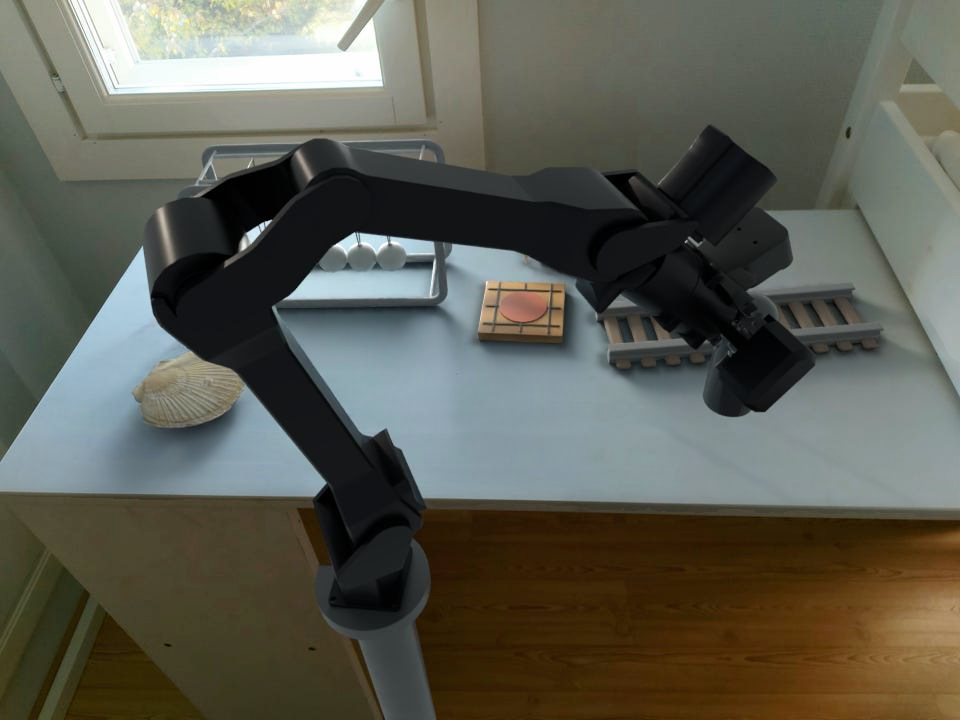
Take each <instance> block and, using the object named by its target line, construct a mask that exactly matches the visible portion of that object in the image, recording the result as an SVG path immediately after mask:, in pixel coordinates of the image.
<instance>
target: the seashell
mask: <svg viewBox="0 0 960 720" xmlns="http://www.w3.org/2000/svg"><path fill="white" fill-rule="evenodd" d="M244 385H245V383H244V382H243V381H242V379H241V378H240V377H239V376H238V375H237V374H236V373H235V372H234V371H233V370H231V369H230V368H226V367H223V366H219V365H216V364H213V363H209V362H206V361H203V360H202V359H200V358H199V357H198V356H197V355H195V354H194V353H193V352H191V351H190V350H189V351H185V352H184V353H182V354H181V355H179V356H177V357H176V358H174V359H163V360H160V361H159V362H157V364H156V365H155V366H154V367H153V369H152V370H151V371H150V372H149V373H148V375H147V376H146V377H145V378H144V379H143V380H142V381H141V382H140V383H139V384H137V385H136V386H135V387H134V389H133V390H132V391H131V394H132V396H133V398H134V400H135V402H136V403H139V404H140V406H139V407H140V408H139V409H140V414H141V416H142V421H143V422H144V423H145V424H147V425H149V426H153V427H157V428H164V429H165V428H167V429H183V428H190V427H195V426H199V425H202V424H205V423H206V422H211V421H213V420H215V419H217V418H219V417H221V416H223V415H224V414H225V413H227V412H229V411H230V410H231V408H232V406H233V405H234V404H235V403H236V401H237V400H238V399H239V398H240V397H241V393H242V392H244V391H245V387H244Z"/></svg>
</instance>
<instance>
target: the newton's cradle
mask: <svg viewBox="0 0 960 720" xmlns="http://www.w3.org/2000/svg"><path fill="white" fill-rule="evenodd" d="M339 142H340V143H341V144H343V145H346V146H348V147H352V148H357V149H363V150H369V151H374V152H380V153H386V154H391V155H412V154H414V155H415V154H416V155H417V154H420V155H419V158H418V159H419V160H424V157H425V156H424V155H425V150H428V151H430V152H431V153H433V155H434V158H435V162H436V163H442V164H446V157H445V154H444V153H445V152H444V150H443V149H442V147H441V145H440V144H438V143H437V142H436V141H433V140H431V139H427V138H426V139H425V138H421V139H419V138H418V139H383V140H382V139H381V140H379V139H378V140H347V141H344V140H343V141H339ZM302 143H303V142H275V143H274V142H272V143H270V142H269V143H268V142H267V143H235V144H233V143H232V144H229V143H228V144H213V145H210V146H208V147H206V148H205V149H204V151H203V152H202V154H201V165H202V167H203V169H202V171H201V172H200V174H199V176H198V178H197V180H196V182H195V183H194V184H193V185H188V186H185V187H183V188H181V189H180V190H179V192H178V193H177V197H176V200H178V199H181V198H188V197H193V196H195V195H196V194H198V193H200V192H201V191H203V190H204V189H206V188H207V187H209V186H210V185H212V184H214V183H215V182H217V181H218V180H220V179H221V178H217V175H216V172H215V168H214V165H213V161H214V160H220V159H221V160H223V159H225V160H226V159H251V160H250V162H249V163H248V166H247V168H250V165H251V164H252V167H254V166H256V164H255V159H260V158H263V159H264V158H265V159H266V158H281V157H282V156H284V155H285V154H287V153H288V152H290V151H291V150H293V149H295V148H296V147H298V146H299V145H301V144H302ZM205 176H206V179H203V178H204V177H205ZM257 227H258V229H259V232H260V233H261V232H262V231H263V230H262V229H261V226H260V225H258V226H257ZM263 227H264V229H265V228H266V227H267V225H266V222H263ZM360 234H361V233H355V238H356V243H354V244H353V245H351V246H350V248H349V249H348V251H346V250H345V248H344V247H343V246H342V245H340V244H339V243H337V244H336V245H334V246H333V247H331V248H330V249H329V250H328V252H327V253H326V254H325V255H324V256H323V258H322V259H321V260H320V261H319V262H318V264H317V265H319V266H320V267H321V268H322V269H323V270H324V271H325V272H328V273H338V272H340V271H341V270H343V269H344V268H345V266H346V265H347V264H349V266H350V267H351V268H352V269H353V270H354V271H356V272H360V273H365V272H368V271H370V270H372V269H373V268H374V267H375V265H376V264H378V265H379V266H380V268H382V269H384V270H385V271H387V272H396V271H399V270H401V269H402V268H403V267H404V266H405V264H406V263H430V262H431V263H433V265H432V267H433V268H432V272H431V282H430V288H429V296H423V297H422V296H411V297H404V296H403V297H402V296H401V297H350V298H349V297H348V298H347V297H344V298H340V297H339V298H338V297H337V298H285V299H283V300H282V301H280V302H278V303H277V304H275V307H276V309H312V308H313V309H314V308H315V309H316V308H317V309H320V308H323V309H324V308H381V307H383V308H384V307H385V308H387V307H433V306H437V305H440V304H442V303H443V302H444V301H445V300H446V299H447V297H448V293H449V288H448V287H449V286H448V277H447V266H446V259H447V258H449V256H450V255H451V253H452V251H453V244H448V243H440V242H433V248H434V252H433V253H432V252H431V253H430V252H429V253H427V252H426V253H425V252H424V253H423V252H421V253H407V252H406V250H405V247H404V246H402V244H401V243H398V242H396V241H392V240H391V237H388V236H386V238H387V242H384V243H383V244H381V245H380V247H379V248H378V250H377V252H376V250H375V248H374V246H372V245H371V244H369V243H367V242H363V241H361V235H360ZM315 268H316V266H315V267H314V268H313V270H314V269H315ZM436 276H437V277H436ZM436 278H437V287H438V293H437V294H436V295H434V288H435V280H436Z"/></svg>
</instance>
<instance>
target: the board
mask: <svg viewBox="0 0 960 720" xmlns="http://www.w3.org/2000/svg"><path fill="white" fill-rule="evenodd" d="M565 297H566V283H563V282H561V283H559V282H533V281H530V282H529V281H504V280H503V281H501V280H487V281H486V284H485V290H484V295H483V301H482V307H481V313H480V318H479V324H478V328H477V329H478V330H477V338H478V339H477V340H479V341H496V342H499V341H500V342H501V341H502V342H522V343H541V344H544V343H545V344H563V337H564V318H565Z"/></svg>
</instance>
